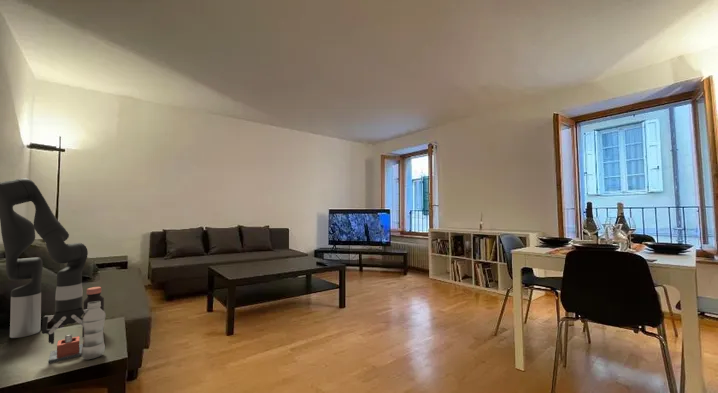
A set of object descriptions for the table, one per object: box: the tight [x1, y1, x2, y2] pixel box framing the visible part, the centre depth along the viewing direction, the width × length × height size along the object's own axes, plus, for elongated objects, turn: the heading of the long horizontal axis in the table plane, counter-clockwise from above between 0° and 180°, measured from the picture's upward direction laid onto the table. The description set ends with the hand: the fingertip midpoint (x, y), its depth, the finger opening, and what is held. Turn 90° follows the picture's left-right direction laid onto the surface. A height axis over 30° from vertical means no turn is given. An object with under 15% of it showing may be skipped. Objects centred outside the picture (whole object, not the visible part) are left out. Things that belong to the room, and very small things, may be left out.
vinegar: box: [82, 286, 105, 332], centre depth 136 cm, size 7×7×20 cm
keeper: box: [47, 333, 83, 365], centre depth 117 cm, size 10×10×7 cm
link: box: [56, 335, 80, 357], centre depth 117 cm, size 6×6×4 cm
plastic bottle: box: [81, 301, 107, 360], centre depth 114 cm, size 6×7×20 cm
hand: (68, 339), depth 117 cm, fingers open, 8 cm apart
